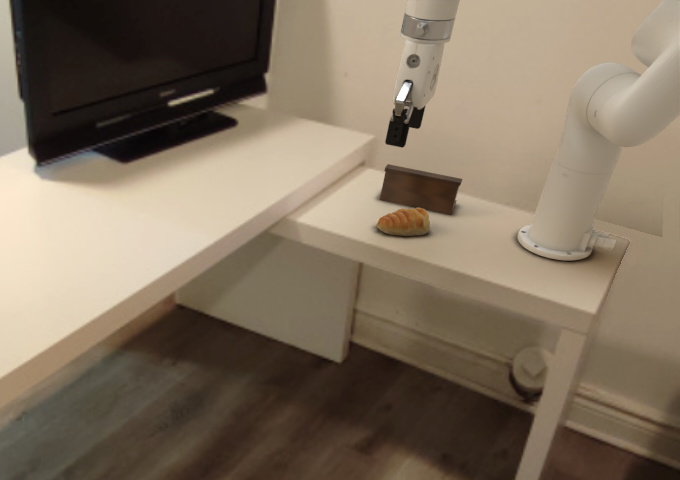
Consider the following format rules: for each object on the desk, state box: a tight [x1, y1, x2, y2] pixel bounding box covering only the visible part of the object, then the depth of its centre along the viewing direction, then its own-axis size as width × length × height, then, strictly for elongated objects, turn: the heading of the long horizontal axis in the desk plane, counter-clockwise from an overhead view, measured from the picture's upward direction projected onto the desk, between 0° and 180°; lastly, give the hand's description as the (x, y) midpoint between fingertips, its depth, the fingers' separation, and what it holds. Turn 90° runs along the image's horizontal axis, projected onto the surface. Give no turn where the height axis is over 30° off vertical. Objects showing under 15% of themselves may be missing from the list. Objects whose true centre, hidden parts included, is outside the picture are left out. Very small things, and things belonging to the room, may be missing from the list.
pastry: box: [376, 207, 431, 237], centre depth 148 cm, size 9×7×4 cm
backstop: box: [379, 163, 463, 215], centre depth 156 cm, size 14×5×7 cm, turn 62°
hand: (402, 135), depth 133 cm, fingers open, 9 cm apart
